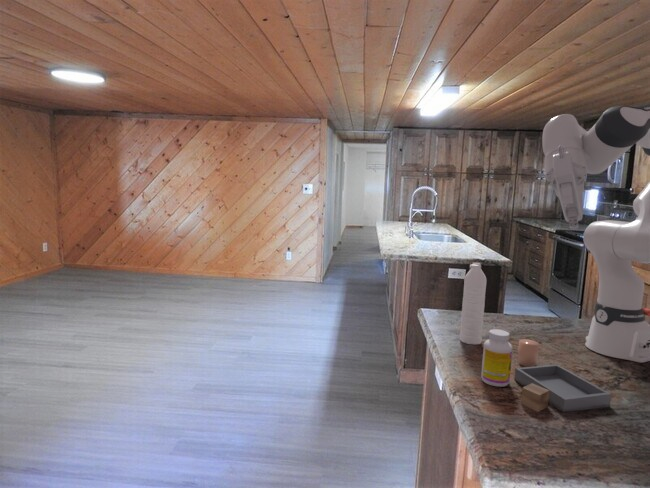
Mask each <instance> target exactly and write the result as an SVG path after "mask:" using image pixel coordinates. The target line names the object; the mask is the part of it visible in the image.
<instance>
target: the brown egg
mask: <svg viewBox="0 0 650 488" xmlns="http://www.w3.org/2000/svg"><path fill="white" fill-rule="evenodd" d="M539 347H540V344H539V342H537V341H535V340H531V339H527V338H524V339H519V341H518V349H517V360H516V361H517V364H519V365H521V366H522V367H534V366H538V359H539V350H540V348H539Z"/></svg>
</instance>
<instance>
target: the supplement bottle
mask: <svg viewBox="0 0 650 488" xmlns="http://www.w3.org/2000/svg"><path fill="white" fill-rule="evenodd" d="M488 337H489V339H485V341H484V343H483V351H482V352H483V353H482V361H481V362H482V363H481V374H480V376H481V377H480V378H481V381H482V382H484V383H485V384H487V385H490V386H492V387H499V388H501V387H507V386H508V385H509V384H510V381H511V369H512V368H511V367H512V357H513V345H512V344H511V343H510V342H509V340H510V332H509V331H506V330H504V329H497V328H496V329H495V328H492V329H490V330H489V331H488Z"/></svg>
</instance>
